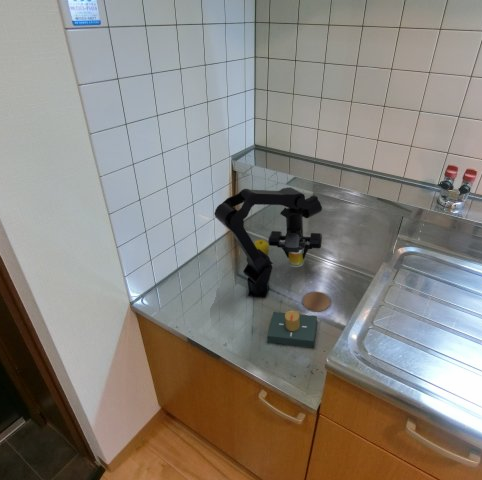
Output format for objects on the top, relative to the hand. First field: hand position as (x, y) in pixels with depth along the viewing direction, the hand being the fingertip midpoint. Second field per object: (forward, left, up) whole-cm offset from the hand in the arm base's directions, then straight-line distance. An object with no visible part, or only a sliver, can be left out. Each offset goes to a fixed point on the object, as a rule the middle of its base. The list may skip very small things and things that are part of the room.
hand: (295, 257), depth 138 cm
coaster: (+9, -16, -6) cm, 19 cm away
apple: (-15, +7, -6) cm, 18 cm away
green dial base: (+3, -30, -6) cm, 31 cm away
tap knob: (+3, -30, -3) cm, 30 cm away
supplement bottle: (0, 0, -3) cm, 3 cm away
